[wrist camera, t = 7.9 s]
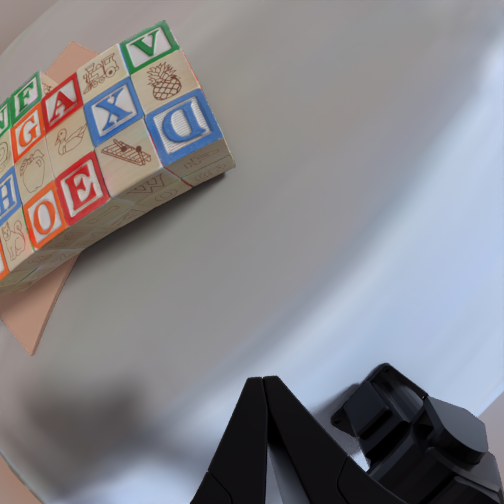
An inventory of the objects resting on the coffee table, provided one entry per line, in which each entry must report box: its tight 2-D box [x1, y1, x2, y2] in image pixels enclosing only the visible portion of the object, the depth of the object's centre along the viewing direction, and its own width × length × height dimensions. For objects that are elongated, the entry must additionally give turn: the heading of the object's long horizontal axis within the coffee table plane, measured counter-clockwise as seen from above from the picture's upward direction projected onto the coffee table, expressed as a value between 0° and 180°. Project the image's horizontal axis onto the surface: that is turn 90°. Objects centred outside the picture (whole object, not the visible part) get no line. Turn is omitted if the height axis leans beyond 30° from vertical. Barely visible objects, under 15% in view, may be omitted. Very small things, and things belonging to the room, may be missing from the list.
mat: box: [0, 42, 100, 356], centre depth 19 cm, size 16×26×1 cm, turn 142°
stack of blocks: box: [0, 20, 235, 297], centre depth 16 cm, size 21×6×12 cm
